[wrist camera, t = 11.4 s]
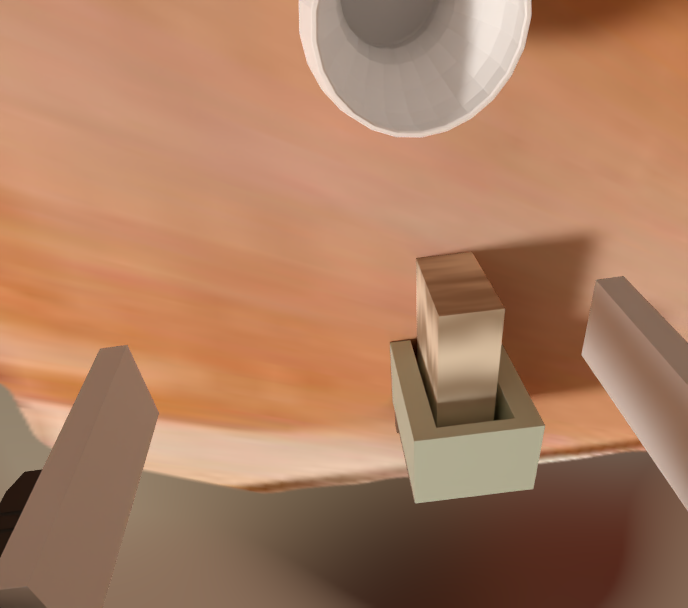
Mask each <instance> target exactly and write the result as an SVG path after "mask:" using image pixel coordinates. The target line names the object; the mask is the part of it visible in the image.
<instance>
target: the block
mask: <svg viewBox="0 0 688 608" xmlns="http://www.w3.org/2000/svg"><path fill="white" fill-rule="evenodd" d="M390 353H391V374H392V395H393V404H394V409H395V413H396V418H397V423H398V427H399V432H400V436H401V441H402V446H403V450H404V455H405V459H406V464H407V468H408V473H409V478H410V482H411V487H412V491H413V496H414V500H415V503H422V502H430V501H438V500H447V499H455V498H463V497H471V496H479V495H487V494H495V493H503V492H511V491H519V490H527V489H533V487H534V482H535V476H536V471H537V466H538V461H539V456H540V450H541V445H542V440H543V434H544V429H545V424H544V422H543V421H542V419H541V417H540V415H539V413H538V411H537V409H536V407H535V405H534V403H533V402H532V400H531V398H530V396H529V394H528V392H527V390H526V388H525V386H524V384H523V383H522V381H521V379H520V377H519V375H518V373H517V371H516V369H515V367H514V365H513V364H512V362H511V360H510V358H509V356H508V354H507V352H506V350H505V348H504V347H503V345H502V344H501V353H500V363H499V372H498V382H497V392H496V401H495V411H494V420H493V421H488V422H480V423H472V424H463V425H455V426H447V427H439V428H436V425H435V422H434V419H433V415H432V412H431V408H430V405H429V402H428V398H427V395H426V392H425V388H424V385H423V381H422V378H421V375H420V371H419V368H418V365H417V361H416V358H415V355H414V351H413V348H412V344H411V341H410V340H407V341H399V342H390Z"/></svg>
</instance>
